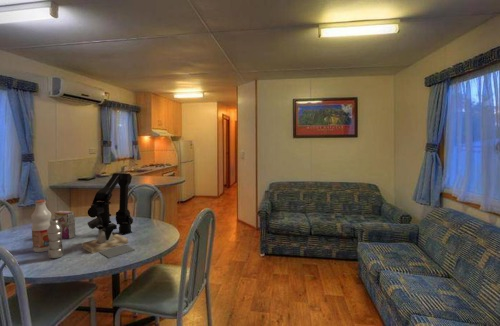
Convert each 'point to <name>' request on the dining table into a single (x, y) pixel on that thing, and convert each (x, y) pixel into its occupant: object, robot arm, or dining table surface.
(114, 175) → the robot arm
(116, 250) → the mat
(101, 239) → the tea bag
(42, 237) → the fruit juice
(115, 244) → the holder
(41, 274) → the dining table surface
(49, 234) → the plastic bottle
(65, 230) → the candy bar box
